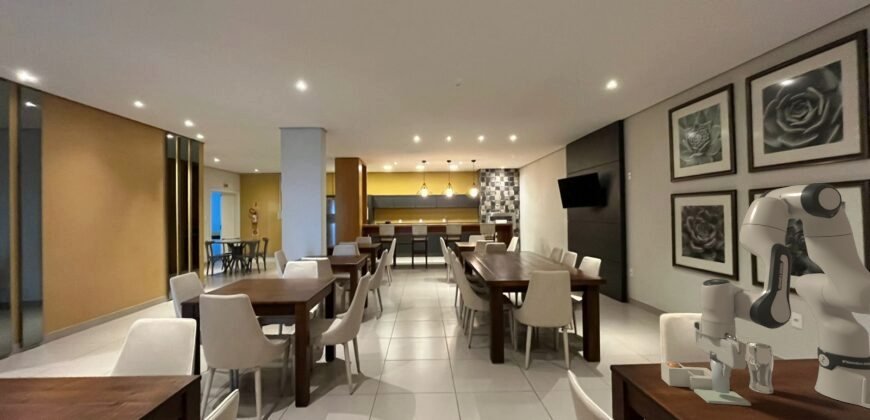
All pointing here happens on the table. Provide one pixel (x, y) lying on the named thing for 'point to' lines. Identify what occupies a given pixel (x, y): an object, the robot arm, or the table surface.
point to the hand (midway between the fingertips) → (720, 372)
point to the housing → (687, 376)
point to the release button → (673, 365)
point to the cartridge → (718, 375)
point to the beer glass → (760, 366)
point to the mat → (722, 397)
